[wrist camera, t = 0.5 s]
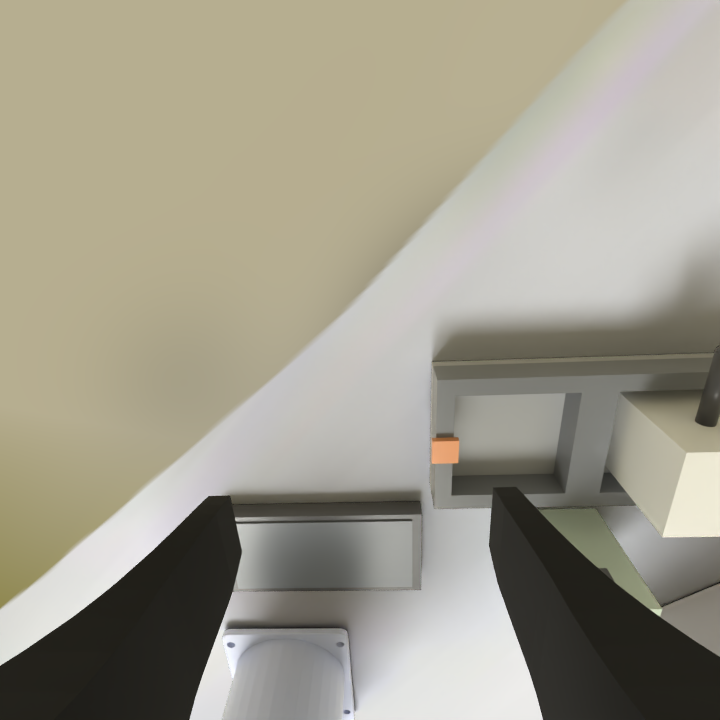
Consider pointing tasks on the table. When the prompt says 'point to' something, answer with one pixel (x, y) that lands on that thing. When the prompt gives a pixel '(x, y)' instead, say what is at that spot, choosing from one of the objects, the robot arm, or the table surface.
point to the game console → (697, 617)
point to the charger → (601, 550)
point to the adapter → (671, 455)
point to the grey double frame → (539, 425)
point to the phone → (329, 546)
